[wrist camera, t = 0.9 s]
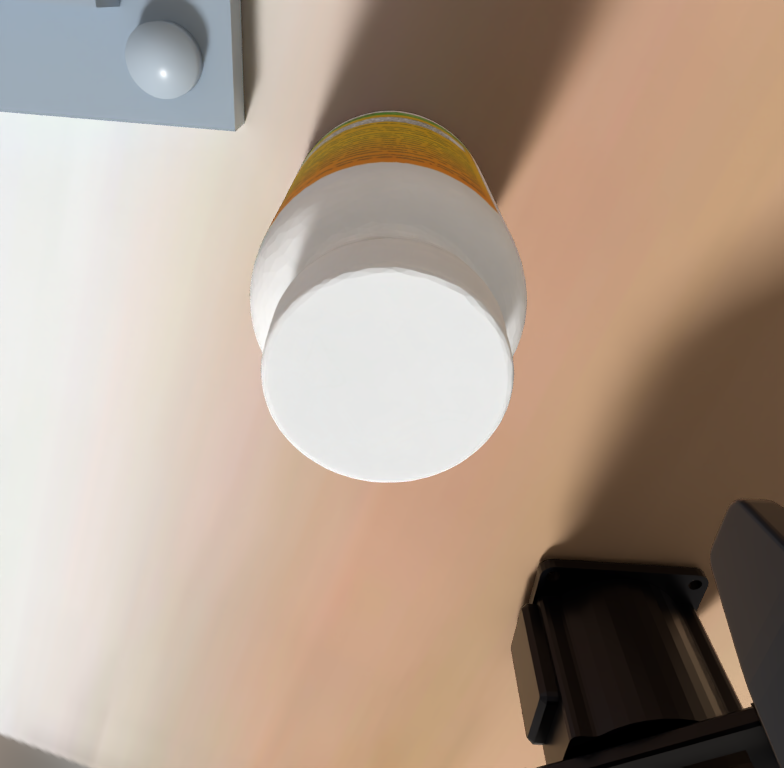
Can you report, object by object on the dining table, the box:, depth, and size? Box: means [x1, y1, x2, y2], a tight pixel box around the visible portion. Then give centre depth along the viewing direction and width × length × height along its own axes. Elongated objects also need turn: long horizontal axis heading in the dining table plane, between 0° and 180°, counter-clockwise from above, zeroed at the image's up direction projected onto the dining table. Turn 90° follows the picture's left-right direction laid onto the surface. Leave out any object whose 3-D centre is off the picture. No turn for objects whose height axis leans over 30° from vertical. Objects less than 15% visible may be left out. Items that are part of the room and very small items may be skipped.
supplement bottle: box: [250, 111, 527, 482], centre depth 14 cm, size 5×5×10 cm
